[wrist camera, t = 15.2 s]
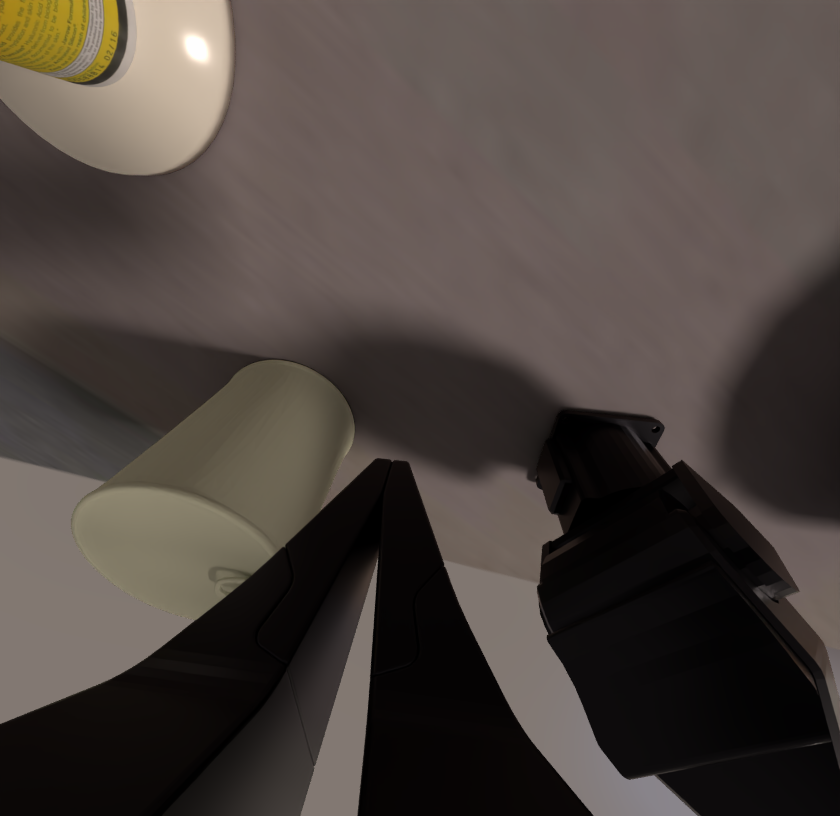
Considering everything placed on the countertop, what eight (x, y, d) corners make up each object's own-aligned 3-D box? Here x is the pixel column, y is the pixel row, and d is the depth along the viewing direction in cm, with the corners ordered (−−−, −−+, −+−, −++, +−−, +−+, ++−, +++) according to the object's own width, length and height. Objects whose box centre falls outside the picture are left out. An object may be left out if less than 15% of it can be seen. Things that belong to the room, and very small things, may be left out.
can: (343, 482, 27) (275, 652, 17) (226, 450, 27) (83, 606, 17) (367, 383, 23) (294, 537, 12) (225, 340, 22) (25, 465, 12)
